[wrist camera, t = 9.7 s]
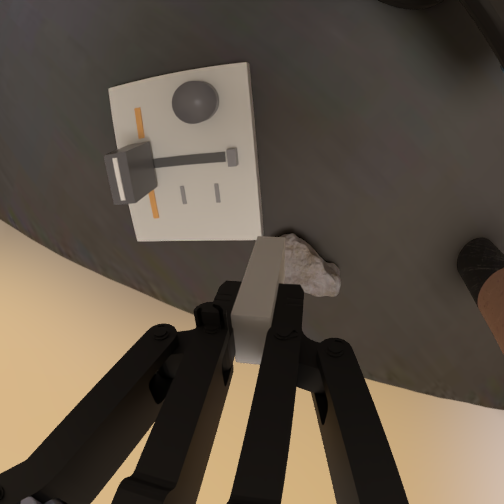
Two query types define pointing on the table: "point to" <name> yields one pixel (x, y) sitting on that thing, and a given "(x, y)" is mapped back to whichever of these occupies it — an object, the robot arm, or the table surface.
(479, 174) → the table surface
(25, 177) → the table surface
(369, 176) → the table surface
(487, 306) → the travel mug
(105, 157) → the fader
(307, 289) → the stone
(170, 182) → the console
